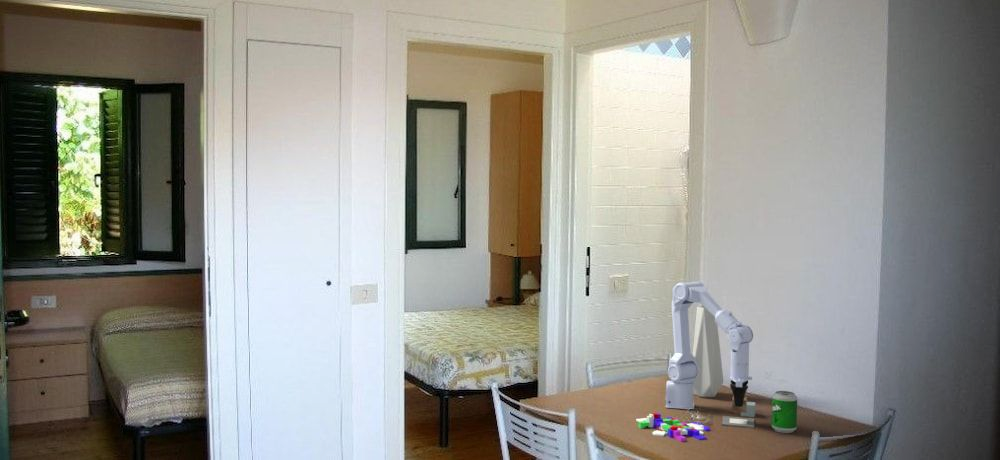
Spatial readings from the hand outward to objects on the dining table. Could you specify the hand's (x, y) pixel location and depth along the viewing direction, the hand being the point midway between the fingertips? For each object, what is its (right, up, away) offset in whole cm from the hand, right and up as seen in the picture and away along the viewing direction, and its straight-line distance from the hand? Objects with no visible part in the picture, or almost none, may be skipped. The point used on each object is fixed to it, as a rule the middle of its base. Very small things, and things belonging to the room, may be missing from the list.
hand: (738, 404), depth 279 cm
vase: (-2, -4, +37) cm, 38 cm away
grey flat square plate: (0, -6, 0) cm, 6 cm away
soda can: (+12, -7, -8) cm, 16 cm away
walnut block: (0, -2, 0) cm, 2 cm away
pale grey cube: (+6, -6, +10) cm, 13 cm away
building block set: (-22, -7, -8) cm, 25 cm away
